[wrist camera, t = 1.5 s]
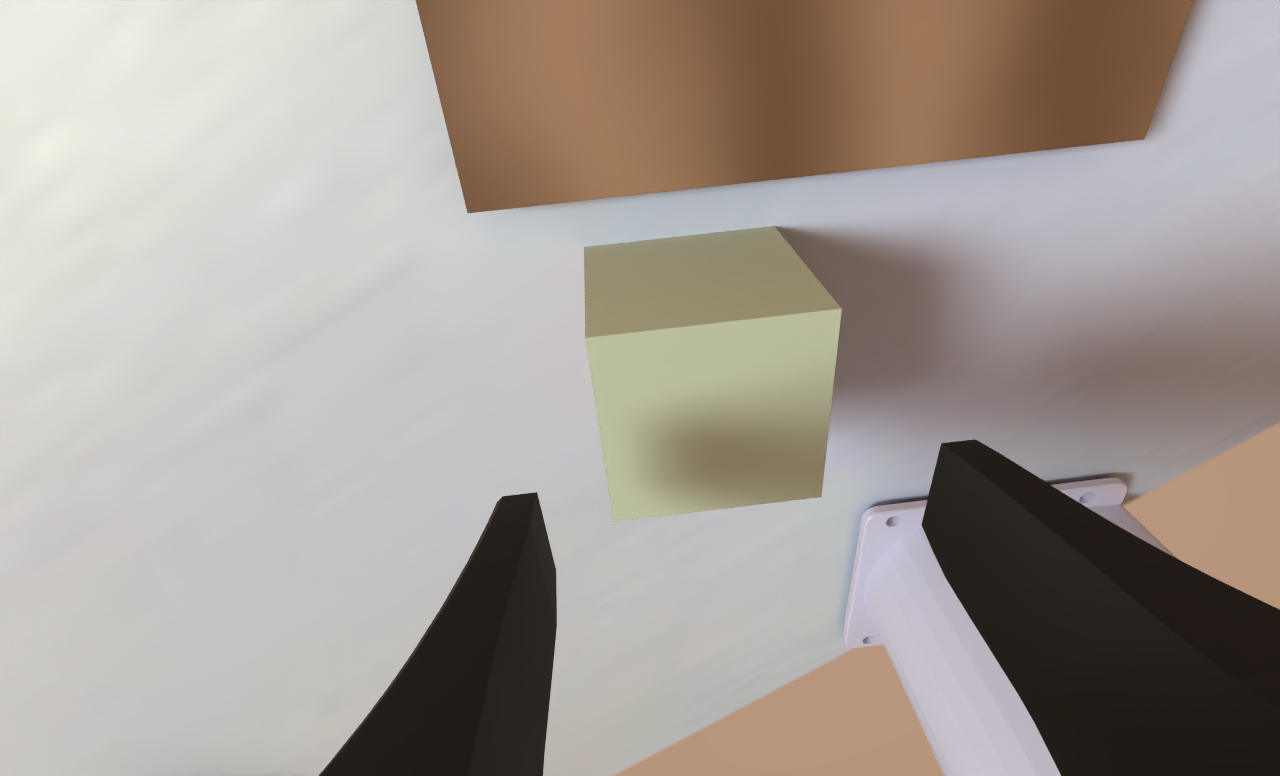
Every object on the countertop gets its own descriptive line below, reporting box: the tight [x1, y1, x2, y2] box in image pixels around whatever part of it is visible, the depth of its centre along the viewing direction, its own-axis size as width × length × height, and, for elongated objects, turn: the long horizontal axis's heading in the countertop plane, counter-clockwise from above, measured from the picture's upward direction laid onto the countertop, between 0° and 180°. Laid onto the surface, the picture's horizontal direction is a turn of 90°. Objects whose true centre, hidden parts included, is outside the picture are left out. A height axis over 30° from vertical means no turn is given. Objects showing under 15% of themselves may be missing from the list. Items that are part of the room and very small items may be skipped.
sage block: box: [584, 226, 842, 522], centre depth 15 cm, size 5×5×5 cm
